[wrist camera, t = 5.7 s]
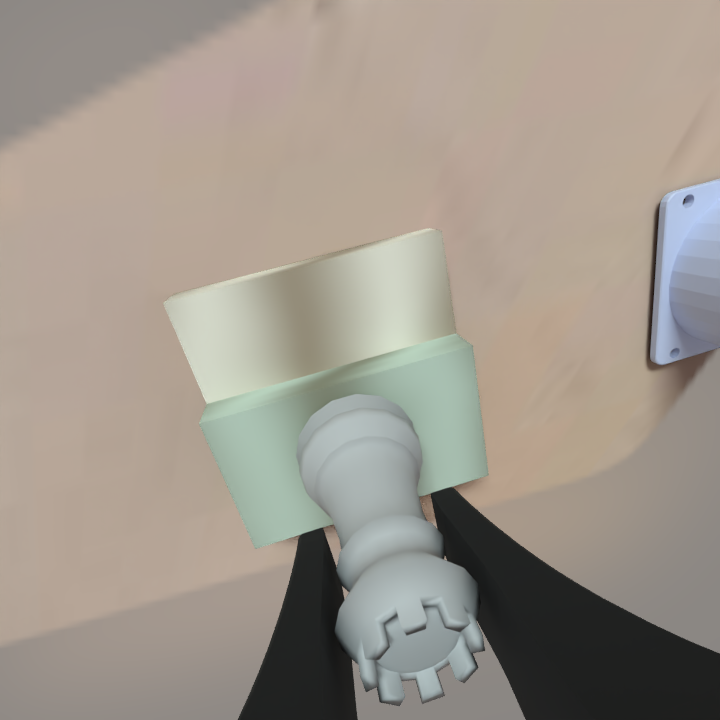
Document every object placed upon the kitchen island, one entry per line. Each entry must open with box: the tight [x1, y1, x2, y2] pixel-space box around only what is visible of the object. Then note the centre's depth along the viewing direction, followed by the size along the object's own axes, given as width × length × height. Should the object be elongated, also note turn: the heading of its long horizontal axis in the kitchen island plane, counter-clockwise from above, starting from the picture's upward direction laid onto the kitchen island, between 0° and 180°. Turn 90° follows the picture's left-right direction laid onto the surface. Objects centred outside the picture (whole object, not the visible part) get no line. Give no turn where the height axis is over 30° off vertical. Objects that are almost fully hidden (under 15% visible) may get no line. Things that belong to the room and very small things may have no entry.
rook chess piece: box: [296, 394, 485, 706], centre depth 12 cm, size 4×4×8 cm
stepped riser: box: [163, 228, 489, 549], centre depth 16 cm, size 10×10×3 cm
